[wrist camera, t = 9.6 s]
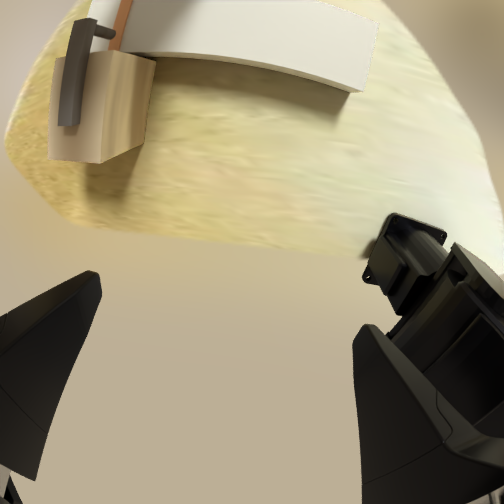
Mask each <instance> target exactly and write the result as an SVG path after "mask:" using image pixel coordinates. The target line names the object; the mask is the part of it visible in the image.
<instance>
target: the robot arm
mask: <svg viewBox="0 0 504 504" xmlns="http://www.w3.org/2000/svg"><path fill="white" fill-rule="evenodd" d="M394 218H396V221H394V222H393V220H394ZM442 234H443V235H442ZM441 235H442V237H441ZM446 238H447V233H446V232H445V231H444V230H443V229H440V228H437V227H435V226H432V225H429V224H427V223H424V222H421V221H418V220H415V219H413V218H410V217H407V216H404V215H401V214H398V213H392V214H391V215H390V216H389V218H388V220H387V222H386V225H385V227H384V229H383V232H382V234H381V236H380V237H379V238H378V240H377V243H376V245H375V247H374V249H373V252H372V254H371V256H370V258H369V260H368V265H367V267H366V269H365V271H364V273H363V275H362V279H363V281H364V282H365V283H368V284H373V285H378V286H380V288H381V290H382V292H383V294H384V295H385V296H387V297H388V299H389V301H390V303H391V305H392V307H393V309H394V311H395V313H396V315H399V316H402V318H401V319H400V320H399V322H398V323H397V324H396V325H395V326H394V328H393V329H392V330H391V331H390V332H388V333H387V334H386V335H384V334H383V333H382V332H381V331H380V329H378V327H377V326H375V325H370V324H364V325H363V326H362V327H361V329H360V331H359V332H358V334H357V335H356V337H355V338H354V340H353V344H352V349H353V378H354V390H355V398H356V407H357V417H358V427H359V439H360V454H361V474H362V504H504V282H503V281H502V280H501V278H500V277H499V276H498V275H497V274H496V273H495V272H494V271H493V270H492V269H491V268H490V267H489V266H488V265H487V264H486V263H485V262H483V261H482V260H481V259H479V258H478V257H476V256H475V255H474V254H472V253H471V252H469V251H468V250H466V249H465V248H463V247H462V246H460V245H459V244H457V243H456V242H454V244H453V245H452V247H451V248H450V249H451V251H450V253H448V252H447V251H446V250H445V249H444V248H443V247H442V246H443V244H444V242H445V240H446ZM368 276H370V277H369V278H367V277H368ZM101 297H102V289H101V283H100V277H99V274H98V273H97V272H93V271H90V270H88V271H85V272H83V273H81V274H79V275H77V276H75V277H73V278H71V279H69V280H67V281H65V282H63V283H61V284H59V285H57V286H56V287H53V288H51V289H50V290H48V291H46V292H44V293H42V294H40V295H38V296H36V297H35V298H33V299H31V300H29V301H27V302H25V303H24V304H22V305H20V306H18V307H16V308H15V309H13V310H11V311H9V312H8V314H7V313H6V314H4V315H2V316H0V504H23V503H22V501H21V499H20V497H19V495H18V493H17V491H16V488H15V486H14V484H13V482H12V479H11V476H10V472H11V470H12V471H14V472H16V473H18V474H20V475H22V476H24V477H26V478H28V479H31V480H33V481H35V480H36V477H37V472H38V468H39V464H40V460H41V456H42V453H43V449H44V446H45V442H46V439H47V436H48V432H49V429H50V426H51V423H52V420H53V417H54V414H55V411H56V408H57V406H58V403H59V400H60V398H61V395H62V392H63V390H64V387H65V385H66V382H67V380H68V377H69V375H70V373H71V370H72V368H73V365H74V363H75V361H76V359H77V357H78V354H79V352H80V350H81V348H82V346H83V344H84V341H85V339H86V337H87V335H88V332H89V329H90V327H91V324H92V321H93V319H94V316H95V313H96V310H97V308H98V305H99V303H100V300H101Z"/></svg>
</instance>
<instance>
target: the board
mask: <svg viewBox="0 0 504 504" xmlns="http://www.w3.org/2000/svg"><path fill="white" fill-rule="evenodd" d="M87 18H92V19H95V20H98V21H97V24H98V25H101V26H104V27H107V28H110V29H113V30H115V31H116V36H115V37H114V38H113V39H111V40H107V39H104V38H100V37H96V36H93V40H92V45H91V49H90V53H91V52H99V51H108V50H116V51H120V52H124V53H128V54H132V55H135V56H139V57H179V58H194V59H205V60H215V61H223V62H230V63H237V64H243V65H249V66H255V67H260V68H265V69H270V70H274V71H279V72H283V73H287V74H291V75H295V76H299V77H303V78H306V79H310V80H313V81H317V82H320V83H323V84H326V85H330V86H333V87H336V88H339V89H342V90H344V91H347V92H350V93H354V92H364V89H365V85H366V80H367V76H368V72H369V68H370V64H371V59H372V55H373V50H374V46H375V41H376V36H377V31H378V26H379V23H377V22H375V21H373V20H370V19H368V18H366V17H363V16H361V15H358V14H356V13H353V12H350V11H348V10H345V9H342V8H339V7H336V6H333V5H330V4H327V3H324V2H320V1H317V0H92V3H91V6H90V9H89V12H88V16H87Z"/></svg>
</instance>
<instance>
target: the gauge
mask: <svg viewBox="0 0 504 504" xmlns="http://www.w3.org/2000/svg"><path fill="white" fill-rule="evenodd" d="M97 21H98V20H95V19H92V18H85V19H80V20H76V21H74V24H73V28H72V32H71V36H70V40H69V44H68V49H67V54H66V57H60V58H56V61H55V66H54V72H53V79H52V87H51V95H50V105H49V119H48V160H62V161H75V162H87V163H97V164H101V163H103V162H105V161H107V160H109V159H111V158H113V157H115V156H117V155H119V154H122V153H124V152H126V151H128V150H130V149H132V148H135V147H137V146H139V145H142V144H144V138H145V130H146V122H147V114H148V107H149V101H150V95H151V89H152V83H153V78H154V72H155V67H156V63H157V62H156V61H153V60H149V59H146V58H142V57H139V56H135V55H132V54H128V53H124V52H120V51H116V50H108V51H99V52H91V53H90V49H91V45H92V40H93V36H96V37H100V38H104V39H107V40H111V39H113V38H114V37H115V36H116V31H115V30H113V29H110V28H107V27H104V26H101V25H98V24H97Z"/></svg>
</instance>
